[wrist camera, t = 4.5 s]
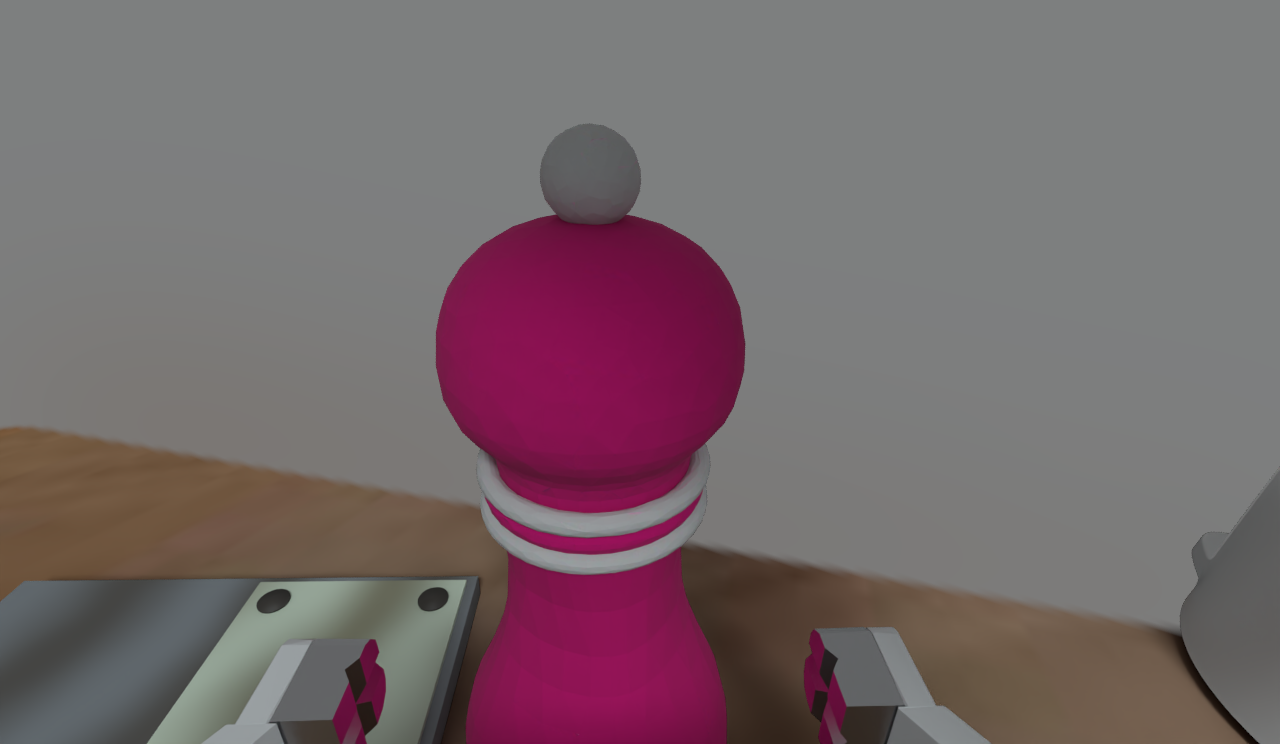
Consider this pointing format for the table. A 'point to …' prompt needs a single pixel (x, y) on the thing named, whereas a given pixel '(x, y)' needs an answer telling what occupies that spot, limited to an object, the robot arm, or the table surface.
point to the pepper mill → (592, 455)
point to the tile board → (216, 652)
